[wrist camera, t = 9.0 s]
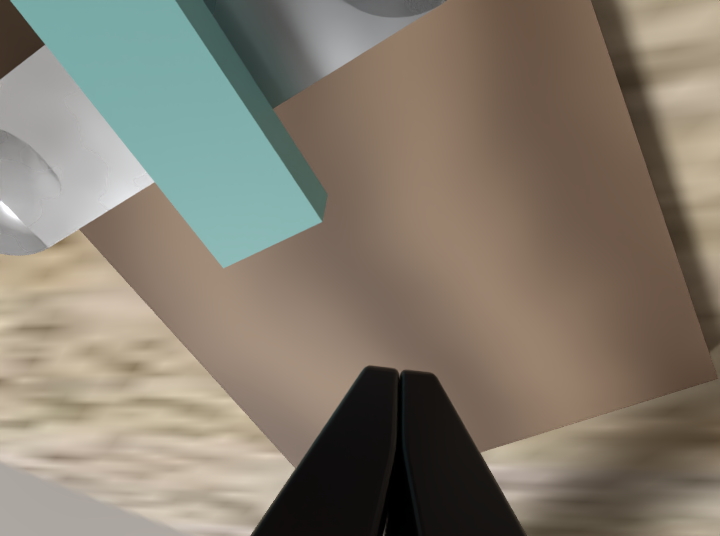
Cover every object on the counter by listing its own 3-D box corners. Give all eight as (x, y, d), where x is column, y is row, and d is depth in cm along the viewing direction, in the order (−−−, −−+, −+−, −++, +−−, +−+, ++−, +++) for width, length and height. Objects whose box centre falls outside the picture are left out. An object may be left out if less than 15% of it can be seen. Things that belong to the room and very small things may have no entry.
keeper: (100, -262, 12) (-31, -310, 8) (339, 137, 16) (322, 221, 13) (10, -185, 13) (-147, -197, 9) (261, 177, 17) (223, 268, 14)
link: (430, -242, 12) (445, -283, 8) (508, -65, 13) (549, -32, 10) (-54, 130, 17) (-181, 210, 13) (45, 229, 18) (-43, 325, 15)
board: (363, -643, 10) (360, -688, 9) (705, 357, 21) (717, 378, 20) (-195, -115, 15) (-230, -112, 14) (327, 479, 26) (324, 500, 25)
